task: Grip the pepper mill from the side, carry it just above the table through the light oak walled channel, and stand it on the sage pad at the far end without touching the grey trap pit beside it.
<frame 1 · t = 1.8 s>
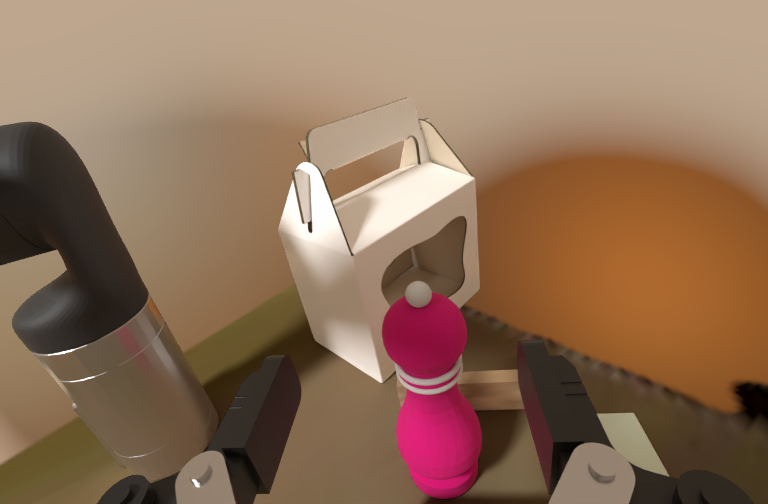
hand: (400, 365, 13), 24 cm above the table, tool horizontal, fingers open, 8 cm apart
oak channel: (476, 463, 34), on the table
gable box: (400, 315, 54), on the table
sage pad: (607, 462, 32), on the table
pepper mill: (443, 465, 34), on the table
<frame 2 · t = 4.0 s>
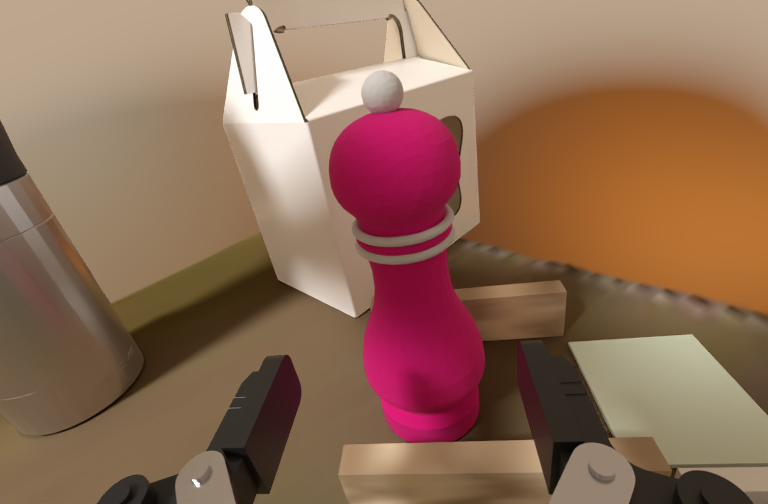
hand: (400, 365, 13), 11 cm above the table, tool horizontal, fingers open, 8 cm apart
oak channel: (477, 401, 24), on the table
gable box: (384, 252, 45), on the table
sage pad: (664, 393, 23), on the table
pepper mill: (431, 405, 25), on the table
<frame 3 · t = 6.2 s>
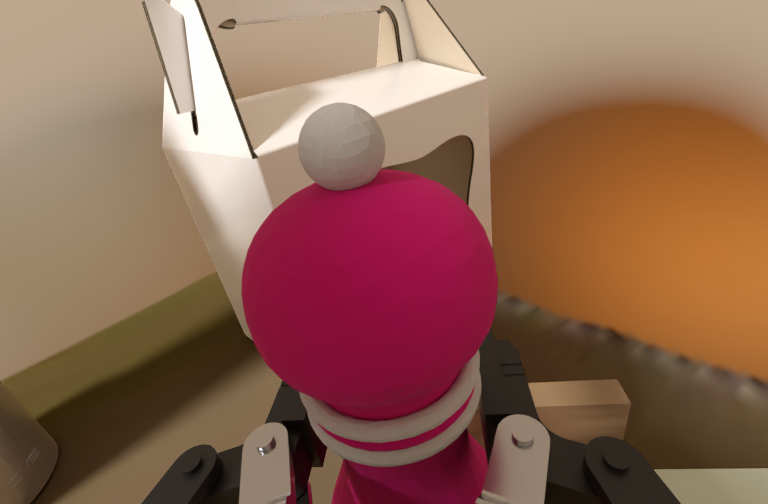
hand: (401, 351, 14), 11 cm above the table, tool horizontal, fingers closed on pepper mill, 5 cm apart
gable box: (376, 297, 37), on the table
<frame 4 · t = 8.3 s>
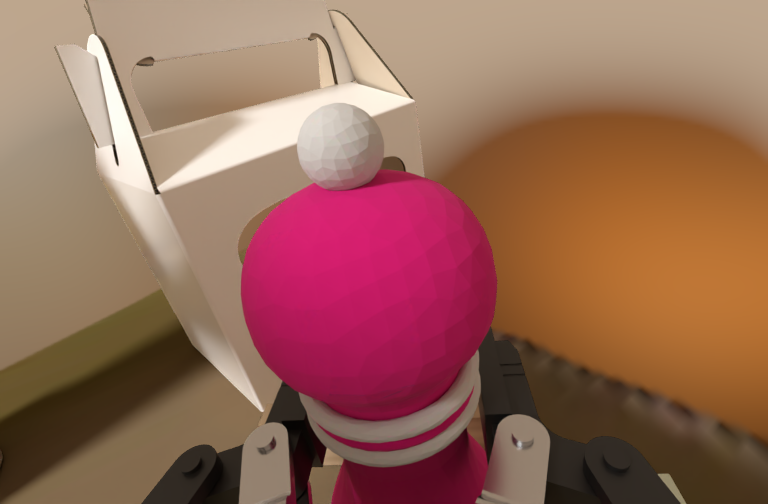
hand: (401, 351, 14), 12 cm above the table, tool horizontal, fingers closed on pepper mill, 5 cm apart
gable box: (322, 307, 38), on the table
when the fingers open (12 cm above the table, at t = 10.6 s): pepper mill stays where it is, resting on sage pad.
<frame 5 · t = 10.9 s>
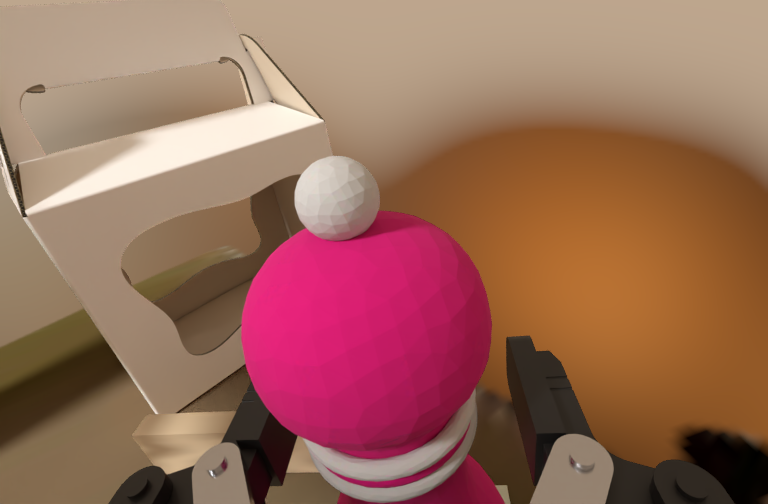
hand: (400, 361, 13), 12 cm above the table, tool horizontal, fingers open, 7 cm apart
gable box: (247, 318, 39), on the table
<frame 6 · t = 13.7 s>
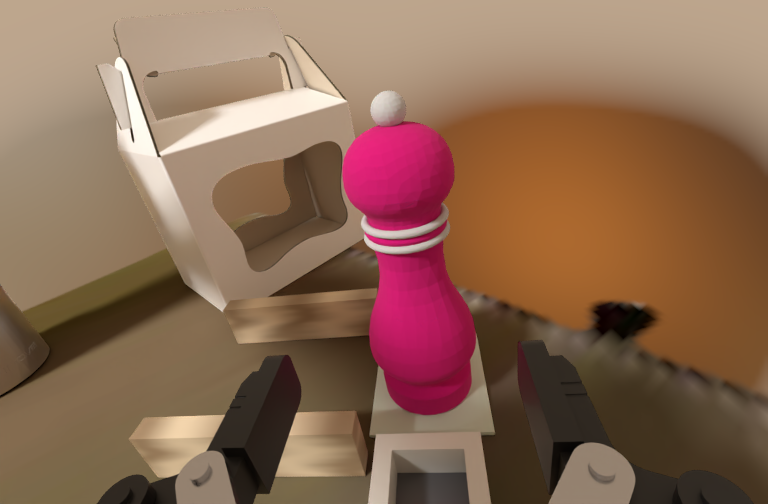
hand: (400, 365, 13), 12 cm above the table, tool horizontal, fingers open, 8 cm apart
oak channel: (290, 387, 30), on the table
gable box: (284, 259, 50), on the table
sage pad: (429, 381, 28), on the table
pepper mill: (428, 381, 28), resting on sage pad
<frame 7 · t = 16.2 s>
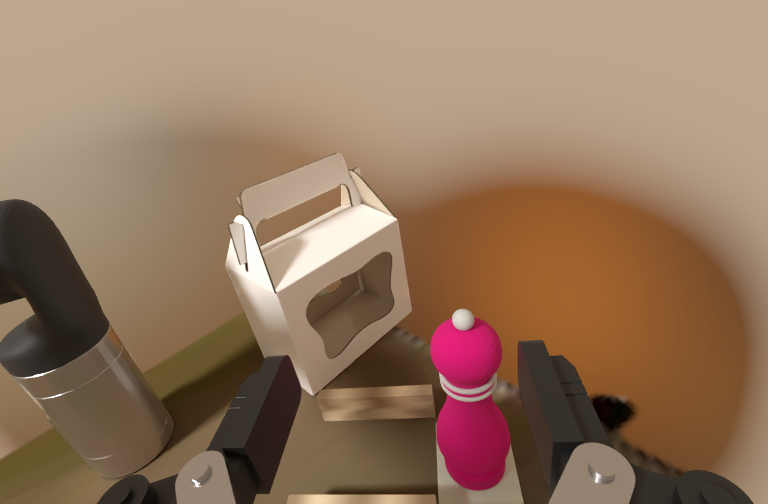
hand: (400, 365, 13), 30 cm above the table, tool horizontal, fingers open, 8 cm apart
oak channel: (373, 462, 42), on the table
gable box: (341, 334, 62), on the table
sage pad: (475, 461, 40), on the table
pepper mill: (474, 462, 40), resting on sage pad
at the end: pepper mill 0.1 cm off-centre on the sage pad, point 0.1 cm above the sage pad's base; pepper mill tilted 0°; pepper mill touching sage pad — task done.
